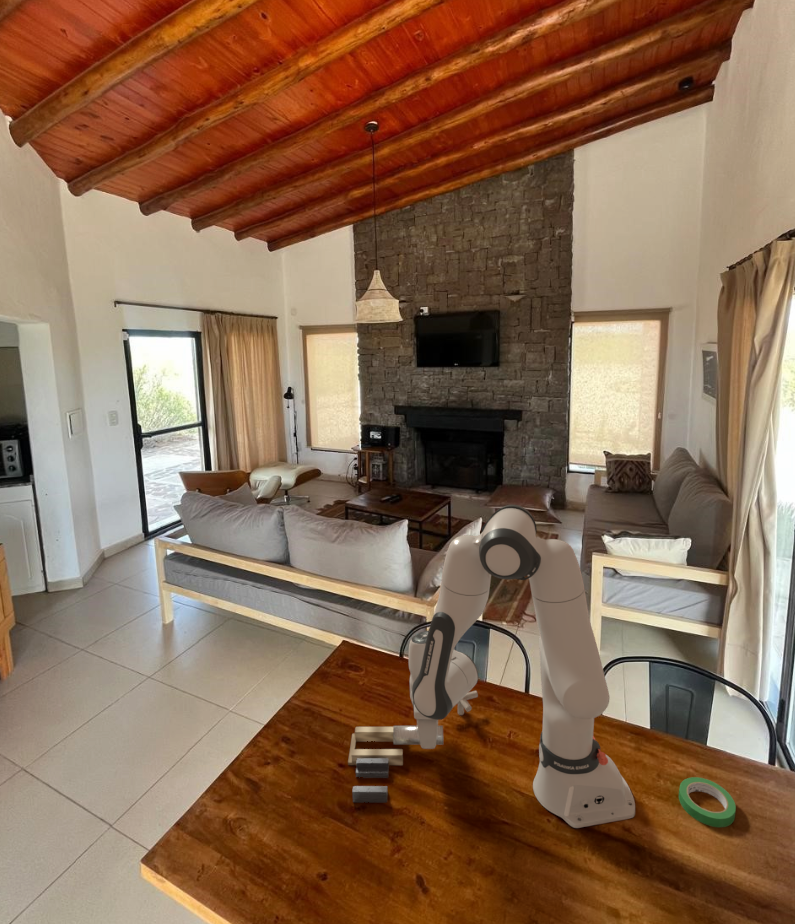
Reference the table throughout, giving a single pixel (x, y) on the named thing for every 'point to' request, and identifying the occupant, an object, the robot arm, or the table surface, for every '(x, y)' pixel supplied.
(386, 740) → the beige u-shaped bracket
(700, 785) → the tape roll
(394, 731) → the axle
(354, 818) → the table surface
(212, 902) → the table surface
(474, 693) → the pipe connector
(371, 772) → the dark blocks
